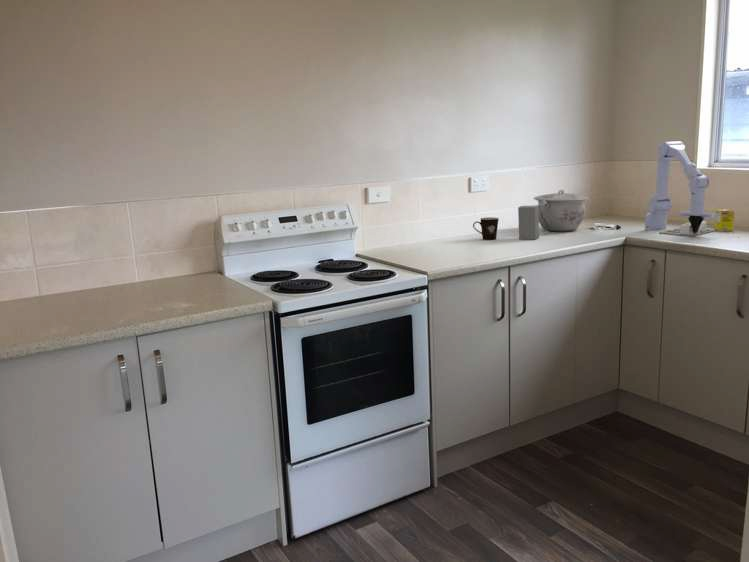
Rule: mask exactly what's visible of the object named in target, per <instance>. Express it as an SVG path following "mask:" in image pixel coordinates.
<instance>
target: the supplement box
mask: <svg viewBox="0 0 749 562" xmlns="http://www.w3.org/2000/svg"><path fill="white" fill-rule="evenodd" d="M734 219H735V210H731V209H715V215H714V230H717V231H718V232H730V231H731V232H732V231H733V230H734Z"/></svg>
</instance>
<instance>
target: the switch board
mask: <svg viewBox="0 0 749 562" xmlns="http://www.w3.org/2000/svg"><path fill="white" fill-rule="evenodd" d="M717 231H718V230H715V229H710V228H707V229H706V231H700V233H693V234H692V235H690V234H680V227H677V228H672V229H668V230H664V231H661V232H658V234H659V235H667V236H668V235H670V236H680V237H689V238H694V237H698V236H702V235H707V234H711V233H714V232H717Z"/></svg>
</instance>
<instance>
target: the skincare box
mask: <svg viewBox="0 0 749 562" xmlns="http://www.w3.org/2000/svg"><path fill="white" fill-rule="evenodd" d="M517 209H518V212H517V215H518V240H537V239H539V238H540V223H539V215H538V204H537V205H520V206H519V207H518V208H517Z"/></svg>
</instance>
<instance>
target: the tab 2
mask: <svg viewBox="0 0 749 562" xmlns="http://www.w3.org/2000/svg"><path fill="white" fill-rule="evenodd" d="M707 224H708V221H704V220H703V221H702V223H701V224H700V231H706V229H708V228H707V227H708V225H707Z"/></svg>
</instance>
